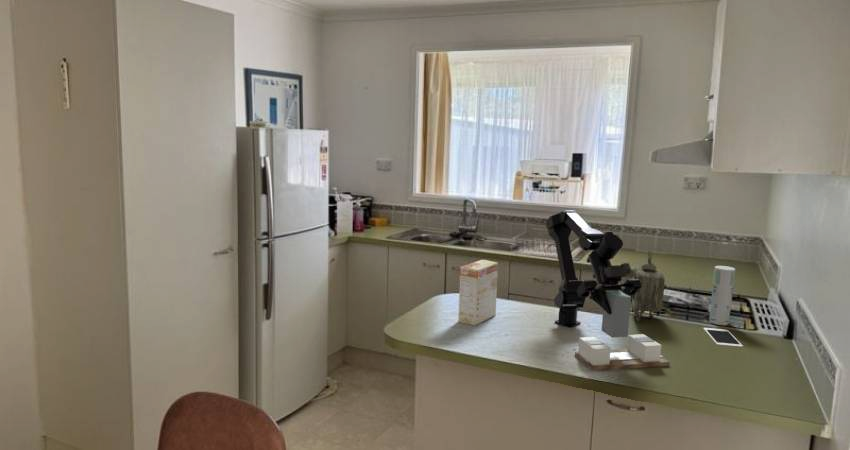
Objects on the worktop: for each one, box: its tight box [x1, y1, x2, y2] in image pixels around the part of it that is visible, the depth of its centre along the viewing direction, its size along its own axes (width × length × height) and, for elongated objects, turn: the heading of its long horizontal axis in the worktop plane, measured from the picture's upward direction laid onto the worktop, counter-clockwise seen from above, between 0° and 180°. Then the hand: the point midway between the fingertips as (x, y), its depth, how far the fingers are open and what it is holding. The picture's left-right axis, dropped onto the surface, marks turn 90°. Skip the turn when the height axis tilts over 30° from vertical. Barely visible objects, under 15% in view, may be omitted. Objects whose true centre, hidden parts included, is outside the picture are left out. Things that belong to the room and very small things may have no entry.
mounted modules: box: [577, 333, 662, 365], centre depth 170 cm, size 21×9×5 cm, turn 102°
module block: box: [601, 291, 632, 338], centre depth 172 cm, size 6×5×12 cm
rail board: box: [574, 348, 671, 372], centre depth 171 cm, size 24×11×2 cm, turn 102°
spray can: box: [708, 265, 736, 326], centre depth 207 cm, size 6×6×20 cm
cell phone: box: [703, 327, 744, 348], centre depth 193 cm, size 8×16×1 cm, turn 169°
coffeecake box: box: [457, 259, 499, 326], centre depth 203 cm, size 15×7×20 cm, turn 144°
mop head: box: [631, 249, 666, 322], centre depth 209 cm, size 14×9×25 cm, turn 164°
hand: (618, 313), depth 170 cm, fingers closed on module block, 5 cm apart
